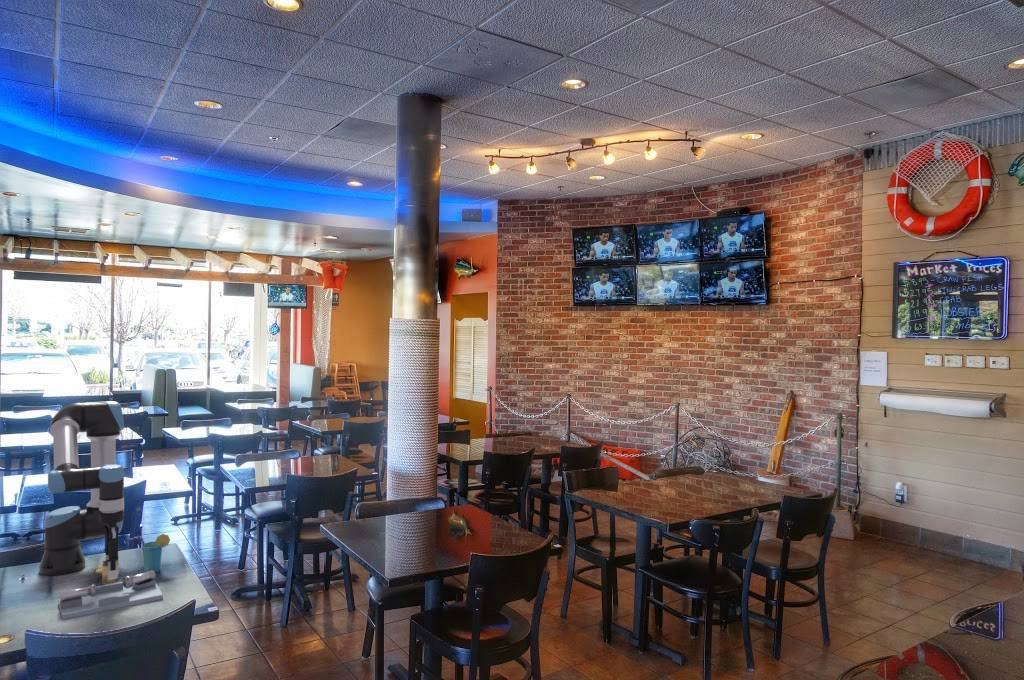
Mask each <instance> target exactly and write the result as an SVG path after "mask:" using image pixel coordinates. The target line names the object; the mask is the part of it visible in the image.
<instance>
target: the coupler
mask: <svg viewBox="0 0 1024 680" xmlns="http://www.w3.org/2000/svg"><path fill="white" fill-rule="evenodd" d="M119 565H120V563H119V559H118V560H117V579H112V580H108V562H106V560H103V561H102V565H101V570H102V571H101V584H103V585H107V584H113V583H118V582H119V577H120V576H119V573H120V572H119V571H120V567H119Z"/></svg>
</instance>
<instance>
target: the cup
mask: <svg viewBox="0 0 1024 680" xmlns="http://www.w3.org/2000/svg"><path fill="white" fill-rule="evenodd" d="M136 539H139V540H140V542H141V543H142V544H141V550H142V558H143V566H144V567H143V568H144V573H145V572H148V571H152V570H154V571H155V572H157V573H159V572H160V571H161V563H162V554H163V553H162V551H163V548H166V547H167V546H168V545H169V544H170V541H171V538H170V537H169V535H168V534H164V533H163V534H162V533H161V534H160V535H158V536H157V537H156V538H155V541H149V542H145V540H144V538H143V537H142V536H140V535H136V536H134V537H131V538H129V540H130V541H133V540H136ZM159 570H160V571H159Z"/></svg>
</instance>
